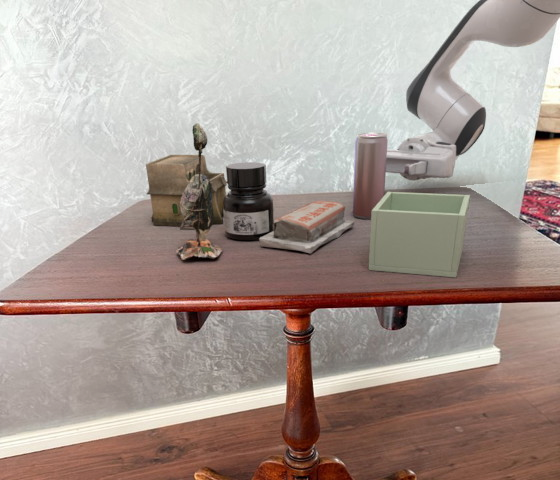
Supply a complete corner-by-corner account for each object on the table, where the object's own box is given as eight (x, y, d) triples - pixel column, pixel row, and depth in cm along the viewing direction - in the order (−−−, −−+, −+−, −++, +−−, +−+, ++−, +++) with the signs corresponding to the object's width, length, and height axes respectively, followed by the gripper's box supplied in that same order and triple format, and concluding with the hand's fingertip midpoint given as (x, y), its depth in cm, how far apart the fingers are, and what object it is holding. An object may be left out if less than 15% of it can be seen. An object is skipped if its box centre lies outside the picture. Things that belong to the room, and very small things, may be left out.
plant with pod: (229, 242, 95) (220, 117, 85) (217, 263, 85) (205, 125, 75) (184, 243, 96) (169, 118, 86) (167, 263, 86) (148, 126, 76)
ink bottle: (216, 240, 97) (209, 169, 91) (233, 227, 104) (228, 160, 98) (268, 243, 94) (265, 170, 88) (281, 229, 102) (279, 161, 96)
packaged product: (307, 196, 103) (355, 201, 99) (307, 222, 105) (354, 227, 101) (257, 219, 90) (311, 225, 85) (258, 247, 92) (311, 255, 88)
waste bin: (462, 251, 87) (470, 195, 83) (456, 277, 77) (464, 215, 72) (383, 245, 91) (387, 191, 87) (368, 270, 81) (371, 210, 76)
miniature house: (141, 228, 106) (131, 166, 100) (170, 210, 117) (163, 154, 112) (213, 230, 102) (207, 166, 96) (236, 212, 114) (232, 154, 108)
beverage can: (347, 214, 110) (350, 133, 102) (374, 211, 111) (378, 131, 104) (360, 221, 105) (364, 137, 97) (388, 217, 106) (393, 134, 99)
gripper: (375, 140, 122) (342, 148, 112) (463, 145, 110) (435, 154, 101) (373, 169, 125) (341, 180, 115) (459, 177, 114) (431, 189, 104)
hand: (386, 168), depth 108 cm, fingers open, 8 cm apart
